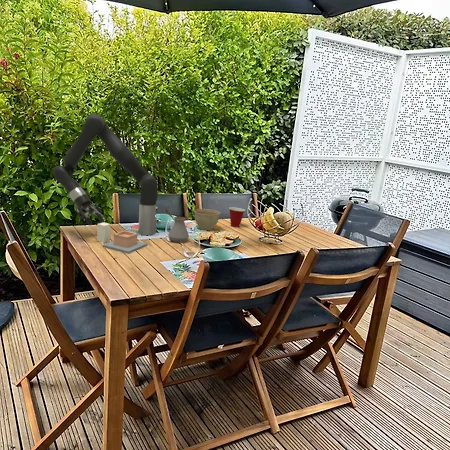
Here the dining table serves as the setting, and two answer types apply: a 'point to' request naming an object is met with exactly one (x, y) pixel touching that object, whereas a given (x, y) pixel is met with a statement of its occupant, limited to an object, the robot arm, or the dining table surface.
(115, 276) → the dining table surface
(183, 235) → the coffee pot
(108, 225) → the tall brick
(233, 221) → the plastic cup
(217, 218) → the planter bowl
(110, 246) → the tower base
